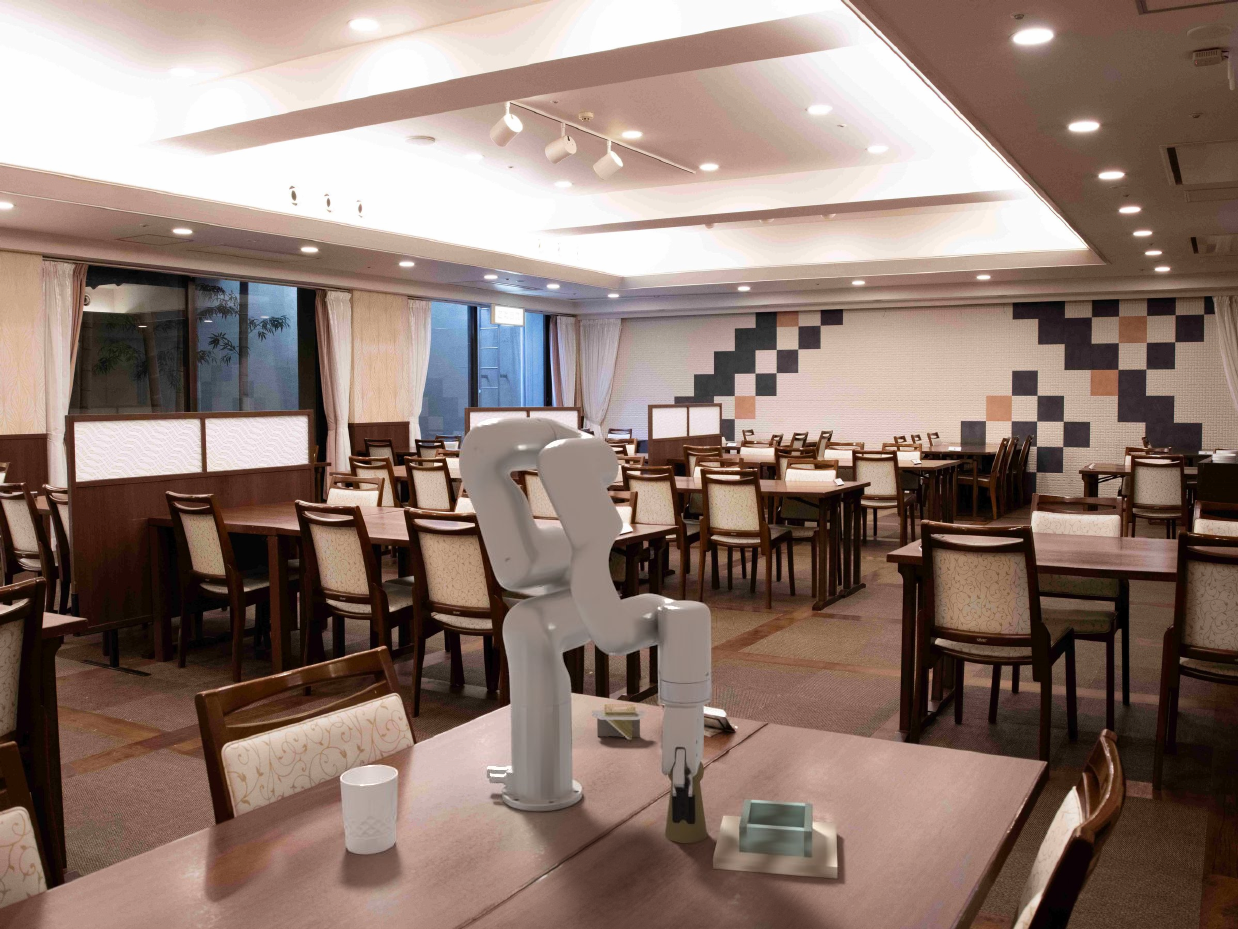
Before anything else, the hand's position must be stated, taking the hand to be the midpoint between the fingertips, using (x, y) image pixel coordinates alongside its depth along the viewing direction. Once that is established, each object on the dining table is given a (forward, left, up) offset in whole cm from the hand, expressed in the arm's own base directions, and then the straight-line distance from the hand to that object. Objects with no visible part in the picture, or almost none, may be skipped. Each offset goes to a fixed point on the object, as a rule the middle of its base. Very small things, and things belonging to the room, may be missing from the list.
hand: (685, 815), depth 143 cm
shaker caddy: (+13, -3, -3) cm, 14 cm away
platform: (-18, +40, -3) cm, 44 cm away
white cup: (-43, -11, -3) cm, 45 cm away
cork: (0, 0, -3) cm, 3 cm away
